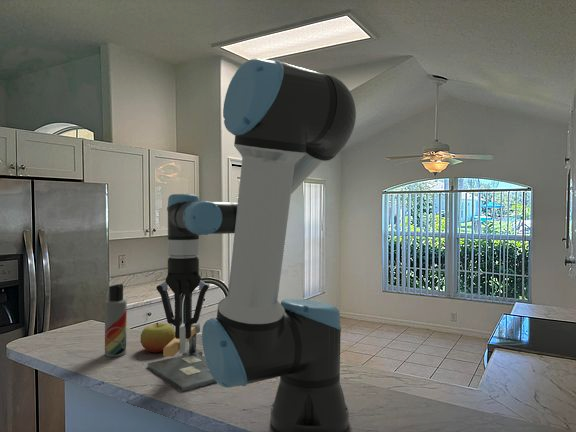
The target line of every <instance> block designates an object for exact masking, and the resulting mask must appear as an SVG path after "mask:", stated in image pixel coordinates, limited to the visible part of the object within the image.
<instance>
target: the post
mask: <svg viewBox="0 0 576 432" xmlns="http://www.w3.org/2000/svg"><path fill="white" fill-rule="evenodd" d="M192 353H198V354H200V355H202V356H203V351H201V350H199V348H197V333H196V334H194V335H193V336H192V337H191V338H190V339H189V340H188V349H187V351H186V353H182V355H187V354H192Z"/></svg>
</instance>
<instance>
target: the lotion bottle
mask: <svg viewBox="0 0 576 432" xmlns="http://www.w3.org/2000/svg"><path fill="white" fill-rule="evenodd" d="M127 303H128V301H127V300H126V299H124V284H122V283H117V284H113V285H109V286H108V300H106V301H105V303H104V355H105V357H107V358H108V357H109V358H116V357H120V356H124V355H125V354H126V353H127V318H128V317H127V316H128V315H127V308H128V307H127V305H128V304H127Z"/></svg>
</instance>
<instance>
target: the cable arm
mask: <svg viewBox="0 0 576 432" xmlns="http://www.w3.org/2000/svg"><path fill="white" fill-rule="evenodd" d="M199 333H201V323H200V322H197V323H194V324H192V325H191V337H192V336H193V335H194V334H196V335H197V334H199ZM191 337H190V338H191ZM187 342H189V339H187ZM162 352H163V354H162V355H163V357H175V355H176V354H178V352H180V339H176V337H175V338H174V339H173V340H172V341H171V342H170V343H169V344H168V345H166V346H165V347H164V348H163V351H162Z"/></svg>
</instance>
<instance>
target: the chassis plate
mask: <svg viewBox="0 0 576 432" xmlns="http://www.w3.org/2000/svg"><path fill="white" fill-rule="evenodd" d="M147 368H148V369H149V370H151V371H152V372H154V373H155V374H156V375H158V376H159V377H161V378H162V379H164V380H165V381H167V382H168V383H169V384H171V385H172V386H173V387H175V388H176V389H177V390H179V391H180V392H181V393H183V392H186V391H187V392H188V391H190V390H193V389H197V388H201V387H205V386H208V385H211V384H217V382H216V381H215V379H214V378H213V376H212V375H211V372H210V370H209V368H208V365H207V362H206V359H205V356H203V354H202V355H200V354H198V353H192V354H187V355H184V354H182V355H179V356H173V357H170V358H165V359H161V360H156V361H151V362H148V363H147Z"/></svg>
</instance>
